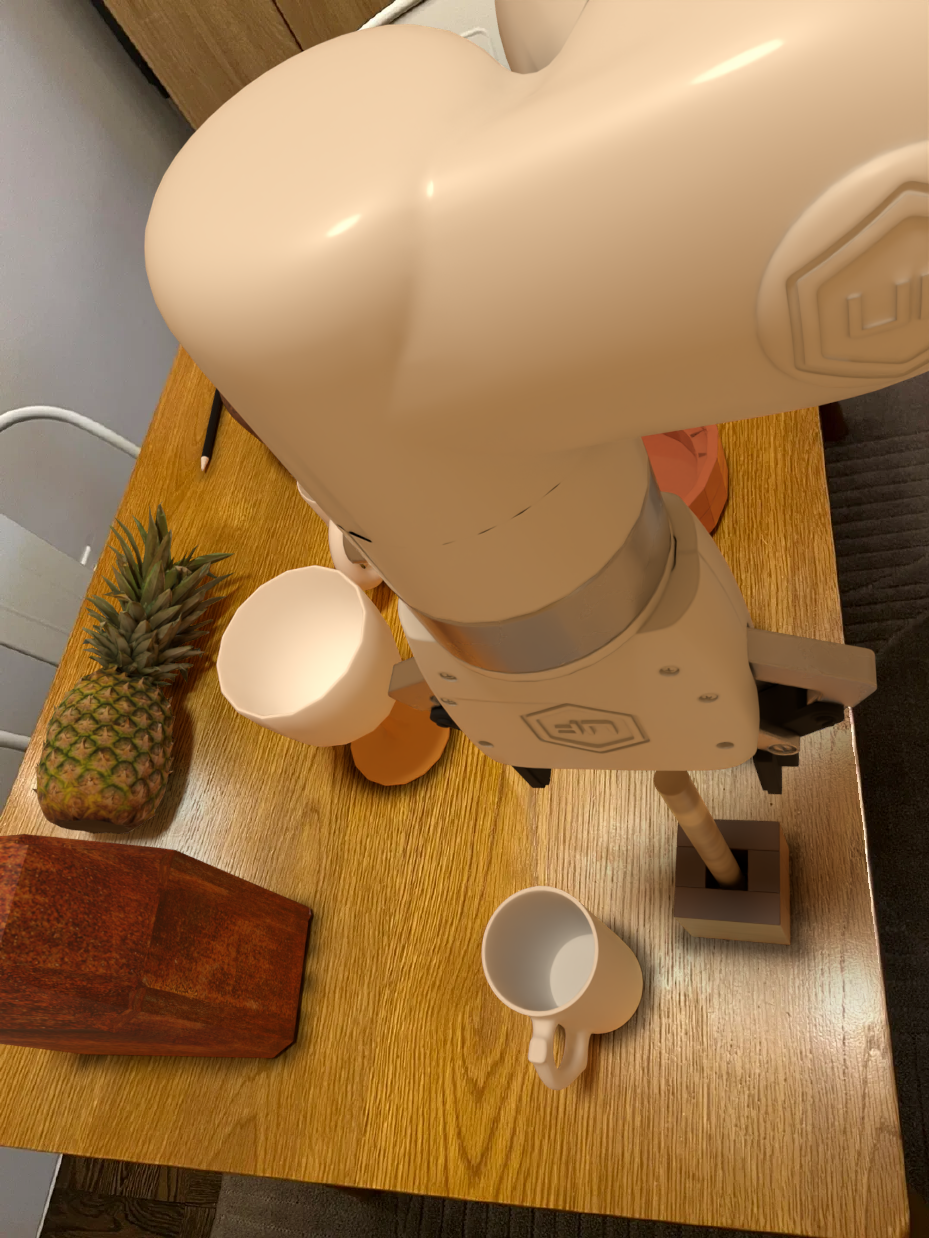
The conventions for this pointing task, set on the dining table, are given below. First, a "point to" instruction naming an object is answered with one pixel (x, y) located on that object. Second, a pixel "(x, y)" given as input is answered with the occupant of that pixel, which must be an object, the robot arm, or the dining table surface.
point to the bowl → (692, 469)
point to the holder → (732, 910)
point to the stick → (700, 827)
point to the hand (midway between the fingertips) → (653, 757)
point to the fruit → (126, 690)
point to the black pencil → (211, 429)
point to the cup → (325, 674)
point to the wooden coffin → (143, 953)
